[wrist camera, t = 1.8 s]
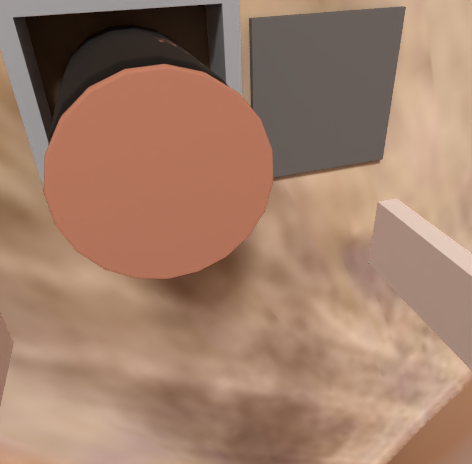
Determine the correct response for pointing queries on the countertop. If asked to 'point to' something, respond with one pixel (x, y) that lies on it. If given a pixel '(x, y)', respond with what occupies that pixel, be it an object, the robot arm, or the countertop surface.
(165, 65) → the coffee jar
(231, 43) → the pocket frame
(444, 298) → the robot arm
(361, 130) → the pad
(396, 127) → the countertop surface
